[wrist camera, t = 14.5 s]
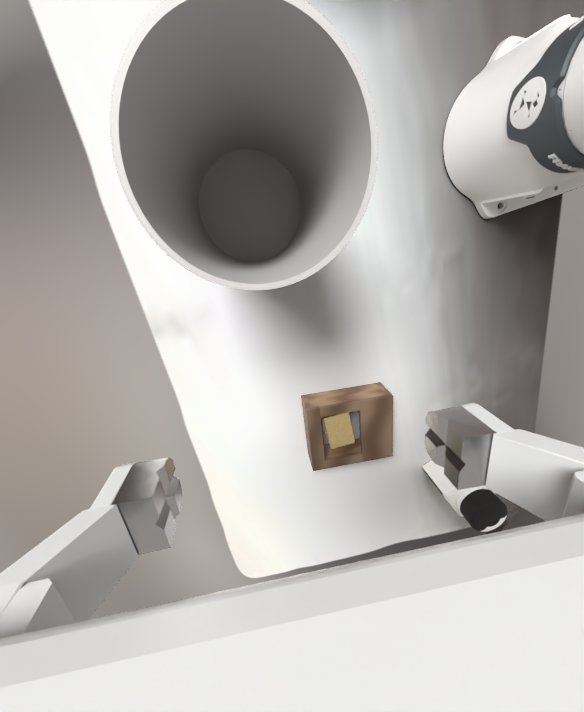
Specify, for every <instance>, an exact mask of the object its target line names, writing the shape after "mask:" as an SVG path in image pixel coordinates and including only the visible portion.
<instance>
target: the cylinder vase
mask: <svg viewBox="0 0 584 712" xmlns="http://www.w3.org/2000/svg"><path fill="white" fill-rule="evenodd" d="M110 133H111V143H112V150H113V156H114V161H115V165H116V169H117V173H118V176H119V179H120V182H121V185H122V187H123V190H124V192H125V195H126V197H127V199H128V201H129V204H130V205H131V207H132V209H133V211H134V213H135V215H136V216H137V218H138V220H139V221H140V223H141V224H142V226H143V227H144V228H145V230H146V231H147V233H148V234H149V235H150V236H151V238H152V239H153V240H154V241H155V242H156V243H157V244H158V245H159V247H160V248H161V249H162V250H163V251H164V252H166V253H167V254H168V255H169V256H170V257H171V258H172V259H173V260H175V261H176V262H177V263H179V264H180V265H181V266H183V267H184V268H186V269H187V270H189V271H190V272H192V273H194V274H196V275H197V276H199V277H201V278H203V279H206V280H208V281H210V282H213V283H216V284H219V285H222V286H226V287H230V288H235V289H241V290H269V289H276V288H280V287H284V286H288V285H291V284H294V283H296V282H299V281H301V280H303V279H305V278H307V277H309V276H311V275H313V274H314V273H316V272H317V271H319V270H320V269H322V268H323V267H324V266H326V265H327V264H328V263H329V262H330V261H331V260H333V259H334V258H335V257H336V256H337V255H338V254H339V253H340V251H341V250H342V249H343V248H344V247H345V246H346V244H347V243H348V242H349V240H350V239H351V237H352V236H353V234H354V233H355V231H356V230H357V228H358V226H359V224H360V222H361V220H362V218H363V216H364V214H365V211H366V209H367V206H368V204H369V201H370V198H371V194H372V191H373V187H374V182H375V177H376V170H377V160H378V133H377V123H376V116H375V111H374V106H373V102H372V98H371V95H370V91H369V88H368V85H367V82H366V80H365V77H364V75H363V72H362V70H361V68H360V66H359V64H358V62H357V60H356V58H355V56H354V54H353V53H352V51H351V49H350V48H349V46H348V45H347V43H346V42H345V40H344V39H343V38H342V36H341V35H340V34H339V32H338V31H337V30H336V29H335V27H334V26H333V25H332V24H331V23H330V22H329V21H328V20H327V19H326V18H325V17H324V16H323V15H322V14H321V13H320V12H319V11H318V10H316V9H315V8H314V7H313V6H312V5H310V4H309V3H308V2H306V1H305V0H164V1H163V2H162V3H161V4H159V5H158V6H157V7H156V8H155V9H154V10H153V11H152V12H151V13H150V14H149V15H148V16H147V17H146V18H145V20H144V21H143V22H142V23H141V25H140V26H139V27H138V29H137V30H136V32H135V33H134V35H133V36H132V38H131V40H130V42H129V44H128V45H127V47H126V50H125V52H124V54H123V56H122V59H121V61H120V64H119V67H118V70H117V74H116V77H115V81H114V86H113V91H112V98H111V109H110Z"/></svg>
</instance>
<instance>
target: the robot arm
mask: <svg viewBox="0 0 584 712" xmlns="http://www.w3.org/2000/svg"><path fill="white" fill-rule="evenodd" d="M443 152H444V161H445V165H446V169H447V172H448V174H449V177H450V179H451V180H452V182H453V184H454V185H455V186H456V188H457V189H458V190H459V191H460V192H462V193H463V194H464V195H466V196H467V197H468V198H470V199H471V200H472V201H473V202H474V204H475V206H476V208H477V210H478V212H479V214H480V215H481V217H483V218H484V219H489V218H493V217H496V216H499V215H502V214H505V213H508V212H510V211H513V210H516V209H519V208H522V207H525V206H528V205H531V204H533V203H536V202H539V201H542V200H545V199H548V198H551V197H554V196H556V195H559V194H562V193H565V192H568V191H571V190H573V189H577V188H579V187H582V186H584V16H582V17H581V18H576V17H571V16H570V15H565V16H562V17H560V18H558V19H557V20H555V21H554V22H552V23H550V24H549V25H547V26H546V27H544V28H542V29H541V30H539V31H538V32H536V33H534V34H533V35H531V36H530V37H528V38H523V37H518V36H511V37H509V38H507V39H505V40H504V41H502V42H501V43H500V44H499V45H498V46H497V48H496V49H495V51H494V53H493V54H492V56H491V58H490V60H489V62H488V64H487V66H486V67H485V68H484V69H483V70H482V71H481V72H480V73H479V74H478V75H477V76H476V77H475V78H474V79H473V80H472V81H471V82H470V83H469V84H468V85H467V86H466V87H465V88H464V90H463V91H462V92H461V94H460V95H459V97H458V98H457V100H456V102H455V103H454V105H453V107H452V110H451V112H450V115H449V117H448V120H447V124H446V128H445V133H444V142H443ZM498 204H499V208H498ZM426 424H427V425H428V426H429V427H430V429H429V430H428V432H427V433H426V434H425V445H426V449H427V452H428V454H429V456H430V458H431V459H432V460H433V462H434V463H435V464H437V465H439V466H441V467H443V468H444V475H445V476H446V477H447V478H448V479H449V481H450V482H451V483H452V484H453V485H454V486H455V488H456V489H457V490H461V489H467V488H473V487H479V486H485V487H486V488H488V489H490V490H492V491H494V492H495V493H497V494H499V495H501V496H503V497H504V498H506V499H508V500H510V501H511V502H513V503H515V504H517V505H519V506H520V507H522V508H524V509H526V510H527V511H529V512H531V513H533V514H535V515H536V516H538V517H540V518H542V519H544V520H545V521H546V522H542V523H537V524H533V525H528V526H523V527H518V528H514V529H509V530H504V531H500V532H495V533H490V534H486V535H481V536H476V537H472V538H467V539H462V540H458V541H453V542H448V543H444V544H439V545H434V546H430V547H425V548H420V549H415V550H411V551H406V552H401V553H397V554H392V555H387V556H383V557H378V558H374V559H369V560H364V561H360V562H355V563H351V564H345V565H341V566H336V567H332V568H327V569H322V570H318V571H313V572H309V573H304V574H299V575H294V576H290V577H285V578H281V579H276V580H271V581H267V582H262V583H257V584H253V585H248V586H243V587H239V588H234V589H229V590H224V591H220V592H215V593H211V594H206V595H201V596H197V597H192V598H187V599H182V600H178V601H173V602H168V603H164V604H159V605H155V606H150V607H145V608H141V609H136V610H132V611H127V612H122V613H117V614H113V615H108V616H103V617H99V618H94V619H89V618H90V617H91V615H92V614H93V613H94V612H95V611H96V609H97V608H98V607H99V606H100V604H101V603H102V602H103V601H104V599H105V598H106V597H107V596H108V594H109V593H110V592H111V591H112V590H113V588H114V587H115V586H116V585H117V583H118V582H119V581H120V579H121V578H122V577H123V576H124V575H125V573H126V572H127V570H129V568H130V567H131V566H132V564H133V563H134V562H135V561H136V559H137V558H138V557H139V556H138V555H140V554H145V553H149V552H153V551H157V550H162V549H166V548H170V547H171V544H172V540H173V537H174V533H175V529H176V524H175V521H174V518H175V517H176V516H177V515H178V514H179V513H180V510H181V506H182V489H181V484H180V481H179V479H177V478H176V477H174V476H173V474H174V471H175V466H174V463H173V460H172V459H171V458H162V459H156V460H151V461H144V462H137V463H131V464H125V465H119V466H117V467H116V468H114V470H113V472H112V473H111V475H110V476H109V478H108V480H107V481H106V483H105V485H104V486H103V488H102V490H101V491H100V493H99V495H98V496H97V498H96V499H95V501H94V503H93V504H92V506H91V508H90V509H89V510H84V511H82V512H81V513H80V514H78V515H77V516H76V517H74V518H73V519H72V520H70V521H69V522H68V523H66V524H65V525H64V526H62V527H61V528H60V529H58V530H57V531H56V532H54V533H53V534H52V535H51V536H49V537H48V538H47V539H45V540H44V541H43V542H42V543H40V544H39V545H37V546H36V547H35V548H33V549H32V550H31V551H30V552H28V553H27V554H25V555H24V556H23V557H22V558H20V559H19V560H18V561H16V562H15V563H14V564H12V565H11V566H10V567H8V568H7V569H6V570H5V571H3V572H2V573H1V574H0V712H584V448H583V447H579V446H576V445H572V444H569V443H565V442H562V441H559V440H555V439H552V438H548V437H544V436H541V435H538V434H534V433H531V432H528V431H524V430H521V429H517V430H514V429H513V428H511V427H510V426H508V425H507V424H505V423H504V422H503V421H501V420H500V419H498V418H497V417H495V416H494V415H492V414H491V413H490V412H488V411H487V410H485V409H484V408H482V407H481V406H480V405H478V404H475V403H470V404H465V405H460V406H457V407H452V408H447V409H441V410H436V411H431V412H428V414H427V416H426ZM88 619H89V620H88Z"/></svg>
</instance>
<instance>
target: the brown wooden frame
mask: <svg viewBox="0 0 584 712" xmlns="http://www.w3.org/2000/svg"><path fill="white" fill-rule="evenodd" d="M301 398H302V406H303V415H304V423H305V431H306V440H307V448H308V454H309V458H310V461H311V465H312V468H313V471H316V470H321V469H326V468H331V467H337V466H342V465H347V464H353V463H358V462H363V461H369V460H374V459H379V458H385V457H390V456H393V395H392V394H391V393H390V392H389V391H388V390H387V389H386V388H385V387H384V386H383V385H382V384H381V383H374V384H368V385H362V386H356V387H350V388H344V389H338V390H332V391H327V392H321V393H315V394H309V395H303V396H301ZM354 411H359V420H360V439H356V440H355V443H353V444H349V445H346V446H342V447H339V448H335V449H332V450H331V448H330V445H329V444H328V445H323V436H322V426H321V417H325V416H331V415H337V414H342V413H348V412H354Z"/></svg>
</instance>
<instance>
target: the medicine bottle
mask: <svg viewBox="0 0 584 712" xmlns="http://www.w3.org/2000/svg"><path fill="white" fill-rule="evenodd" d="M422 469H423V470H424V471H425V473H426V474H427V475H428V477H429V478H430V479H431V481H432V482H433V483H434V484H435V486H436V487H437V488H438V490H439V491H440V492H441V494H442V495H443V496H444V497H445V499H446V500H447V501H448V502H449V504H450V505H451V506H452V507H453V509H454V510H455V511H456V512H457V513H458V515H459V516H460V517H463V516H464V517H465V519H466V520H467V521H468V522H469V524H470V525H471V526H472V528H474V529H475V530H478V531H483V532H485V531H490V530H493V529H495V528H497V527H498V526H500V525H501V524H502V523H503V522H504V520H505V519H506V517H507V507H506V505H505V504H504V503H503V502H502V501H501V500H500V499H499V498H498V497H497V496H496V495H495V492H494V491H492V490H490V489H488V488H486V487H485V486H479V487H473V488H467V489H461V490H457V489H456V488H455V486H454V485H453V484H452V483H451V482H450V481H449V479H448V478H447V477H446V476H445V475H444V468H443V467H441V466H439V465H437V464H435V463H434V462H433V460H430V461H429V462H428V463H426V464H425V465H423V466H422Z"/></svg>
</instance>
